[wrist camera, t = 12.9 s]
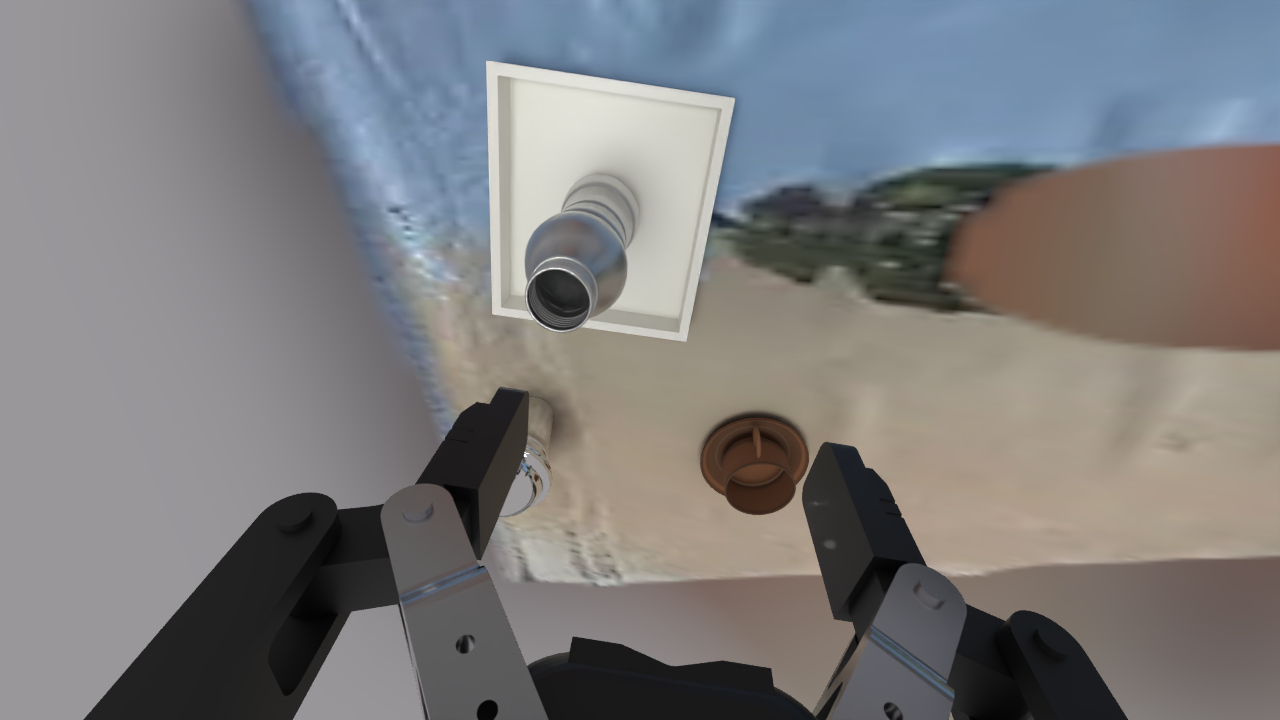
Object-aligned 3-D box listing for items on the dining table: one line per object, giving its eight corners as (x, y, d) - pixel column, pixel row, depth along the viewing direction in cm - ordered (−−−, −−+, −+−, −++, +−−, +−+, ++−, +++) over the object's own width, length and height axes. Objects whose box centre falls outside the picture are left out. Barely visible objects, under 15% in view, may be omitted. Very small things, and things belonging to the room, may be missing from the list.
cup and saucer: (683, 430, 55) (684, 467, 50) (786, 394, 52) (799, 430, 47) (721, 500, 60) (726, 541, 55) (817, 472, 57) (832, 512, 52)
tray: (503, 62, 38) (486, 60, 35) (729, 97, 38) (735, 98, 35) (505, 297, 48) (492, 314, 45) (685, 323, 48) (686, 341, 45)
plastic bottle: (639, 167, 40) (614, 232, 23) (643, 247, 44) (625, 356, 26) (562, 171, 41) (483, 238, 24) (572, 250, 44) (509, 359, 27)
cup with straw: (586, 411, 54) (546, 565, 37) (540, 456, 58) (485, 615, 41) (523, 367, 52) (450, 510, 35) (480, 417, 56) (394, 568, 38)
